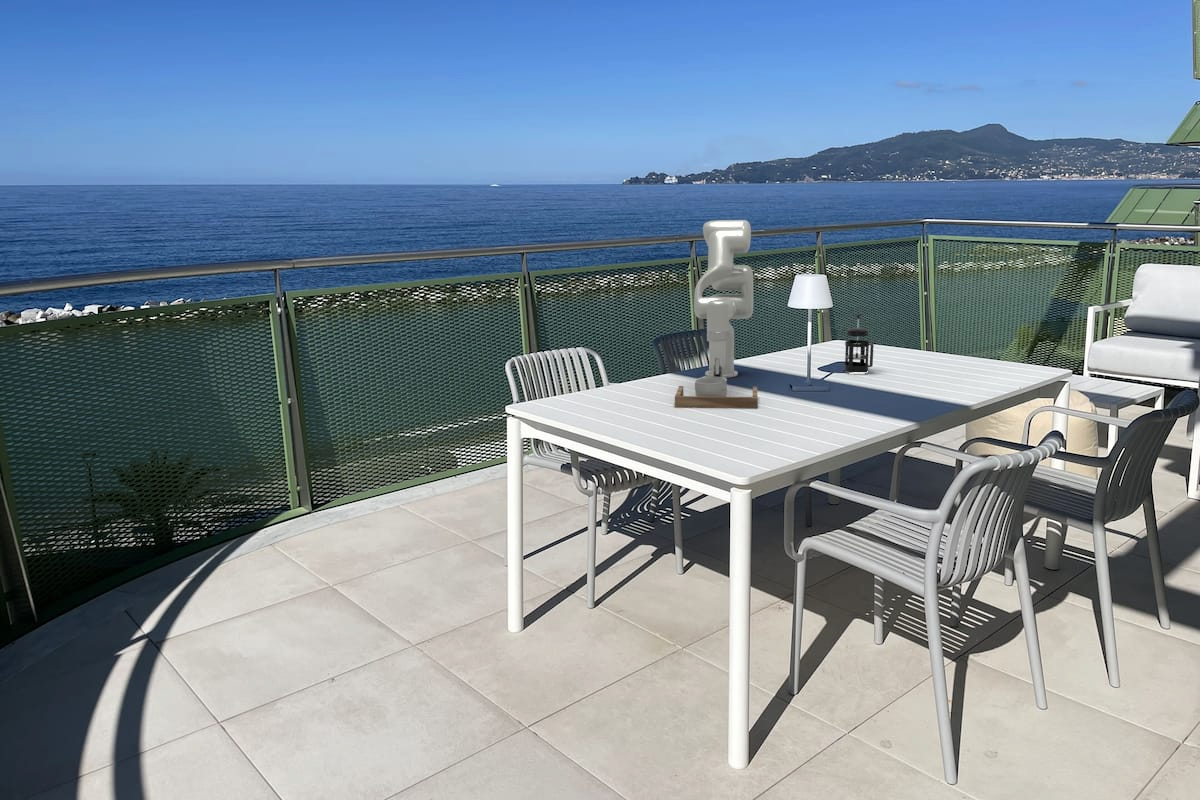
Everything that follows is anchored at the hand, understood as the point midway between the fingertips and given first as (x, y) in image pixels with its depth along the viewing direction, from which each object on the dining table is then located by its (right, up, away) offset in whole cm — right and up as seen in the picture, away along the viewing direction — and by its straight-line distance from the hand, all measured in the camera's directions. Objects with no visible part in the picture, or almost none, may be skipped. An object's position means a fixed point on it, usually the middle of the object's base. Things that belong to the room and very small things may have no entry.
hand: (717, 388), depth 299 cm
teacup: (-3, -5, -5) cm, 8 cm away
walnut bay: (-1, -4, -6) cm, 7 cm away
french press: (+59, +6, +35) cm, 69 cm away
